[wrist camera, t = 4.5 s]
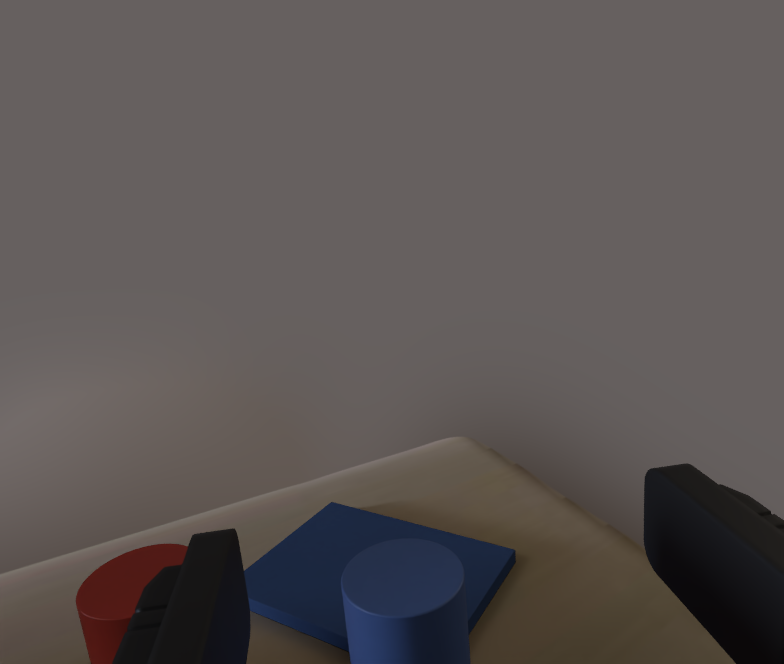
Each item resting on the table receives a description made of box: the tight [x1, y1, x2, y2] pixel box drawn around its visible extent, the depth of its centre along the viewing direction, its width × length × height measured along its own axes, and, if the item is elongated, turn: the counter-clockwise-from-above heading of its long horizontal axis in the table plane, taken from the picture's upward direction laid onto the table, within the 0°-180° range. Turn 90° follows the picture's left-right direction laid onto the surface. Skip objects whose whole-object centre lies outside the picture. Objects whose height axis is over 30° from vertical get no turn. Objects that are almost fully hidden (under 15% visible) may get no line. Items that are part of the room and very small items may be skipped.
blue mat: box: [244, 502, 516, 652], centre depth 41 cm, size 16×12×1 cm
